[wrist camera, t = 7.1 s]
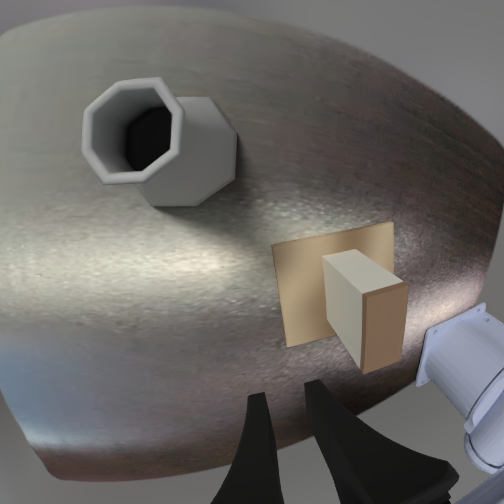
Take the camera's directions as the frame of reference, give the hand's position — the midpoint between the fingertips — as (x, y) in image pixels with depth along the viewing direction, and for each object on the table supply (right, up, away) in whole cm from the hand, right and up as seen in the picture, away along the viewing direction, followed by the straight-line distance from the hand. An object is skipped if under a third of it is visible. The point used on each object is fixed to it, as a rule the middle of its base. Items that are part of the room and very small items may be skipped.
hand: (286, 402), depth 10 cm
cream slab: (+5, +4, +9) cm, 11 cm away
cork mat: (+5, +4, +9) cm, 11 cm away
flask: (-6, +13, +6) cm, 15 cm away
